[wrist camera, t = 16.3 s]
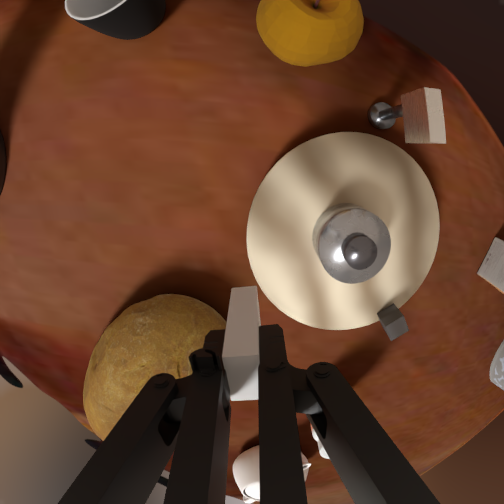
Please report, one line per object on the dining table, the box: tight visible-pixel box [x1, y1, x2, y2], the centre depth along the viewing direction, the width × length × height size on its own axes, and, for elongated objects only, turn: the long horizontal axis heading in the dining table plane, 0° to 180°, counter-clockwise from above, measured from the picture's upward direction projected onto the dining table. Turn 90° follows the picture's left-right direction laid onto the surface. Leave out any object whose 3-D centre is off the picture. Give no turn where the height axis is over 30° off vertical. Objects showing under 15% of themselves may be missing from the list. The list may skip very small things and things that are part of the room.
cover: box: [312, 203, 391, 284], centre depth 27 cm, size 7×7×6 cm
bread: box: [83, 294, 227, 441], centre depth 36 cm, size 18×35×10 cm, turn 150°
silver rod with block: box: [368, 87, 446, 144], centre depth 23 cm, size 3×5×12 cm, turn 6°
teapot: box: [233, 445, 311, 503], centre depth 41 cm, size 22×14×11 cm, turn 154°
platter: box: [247, 132, 440, 341], centre depth 29 cm, size 22×23×4 cm
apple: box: [256, 0, 364, 67], centre depth 21 cm, size 10×10×12 cm
